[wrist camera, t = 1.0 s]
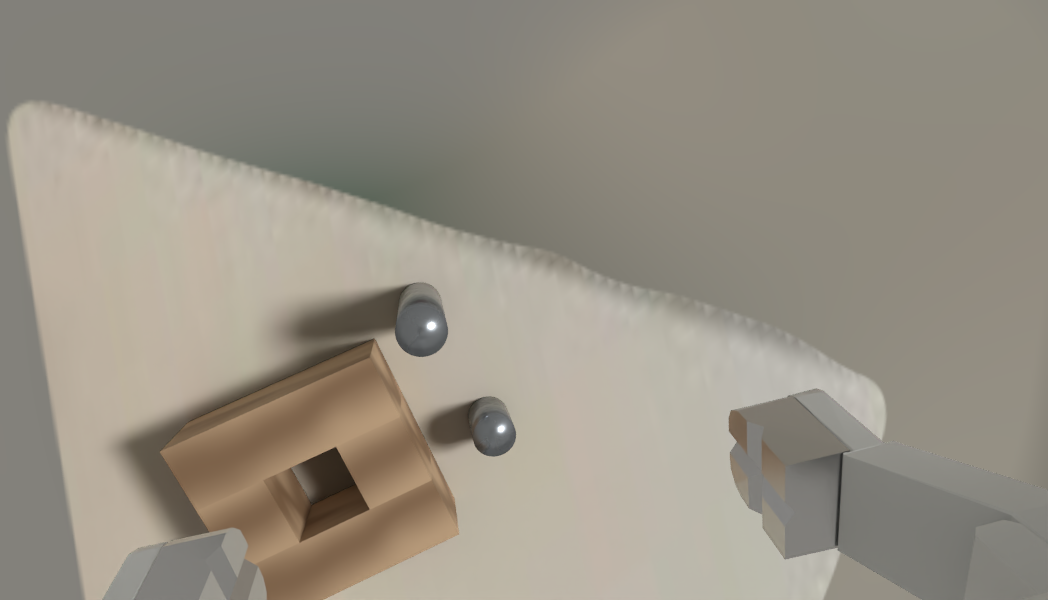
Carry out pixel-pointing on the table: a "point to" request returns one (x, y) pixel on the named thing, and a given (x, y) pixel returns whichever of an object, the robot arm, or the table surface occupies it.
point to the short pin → (491, 426)
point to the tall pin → (421, 320)
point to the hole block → (277, 497)
